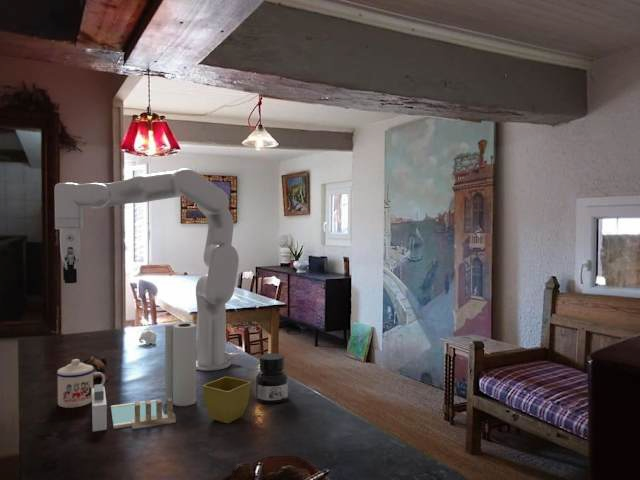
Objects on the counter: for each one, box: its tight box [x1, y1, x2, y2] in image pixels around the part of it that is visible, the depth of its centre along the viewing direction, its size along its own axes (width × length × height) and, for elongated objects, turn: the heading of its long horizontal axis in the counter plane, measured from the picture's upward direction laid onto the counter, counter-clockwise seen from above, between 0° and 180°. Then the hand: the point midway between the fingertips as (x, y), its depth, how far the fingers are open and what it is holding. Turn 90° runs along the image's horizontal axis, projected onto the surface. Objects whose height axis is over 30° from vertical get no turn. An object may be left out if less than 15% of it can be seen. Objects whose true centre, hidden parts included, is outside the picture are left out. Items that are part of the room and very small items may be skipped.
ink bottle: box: [255, 353, 289, 405], centre depth 140 cm, size 10×9×12 cm
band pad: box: [110, 399, 165, 430], centre depth 128 cm, size 12×14×1 cm
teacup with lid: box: [56, 358, 106, 409], centre depth 136 cm, size 12×9×12 cm
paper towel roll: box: [164, 322, 197, 407], centre depth 136 cm, size 7×6×21 cm
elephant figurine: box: [138, 327, 160, 346], centre depth 202 cm, size 7×8×6 cm
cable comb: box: [131, 398, 177, 430], centre depth 122 cm, size 10×2×6 cm, turn 115°
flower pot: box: [201, 376, 252, 424], centre depth 125 cm, size 9×9×9 cm
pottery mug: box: [80, 356, 110, 382], centre depth 156 cm, size 12×10×8 cm
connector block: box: [91, 383, 108, 433], centre depth 124 cm, size 3×14×8 cm, turn 25°
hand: (69, 281), depth 151 cm, fingers open, 9 cm apart
